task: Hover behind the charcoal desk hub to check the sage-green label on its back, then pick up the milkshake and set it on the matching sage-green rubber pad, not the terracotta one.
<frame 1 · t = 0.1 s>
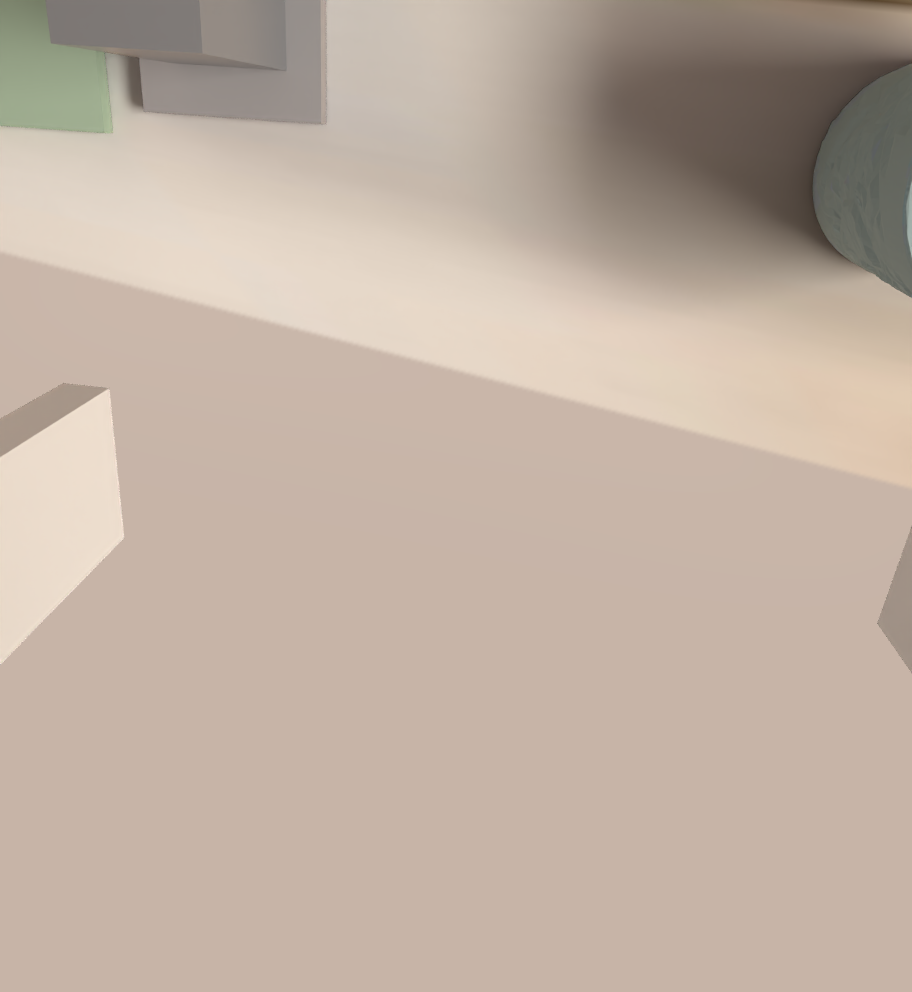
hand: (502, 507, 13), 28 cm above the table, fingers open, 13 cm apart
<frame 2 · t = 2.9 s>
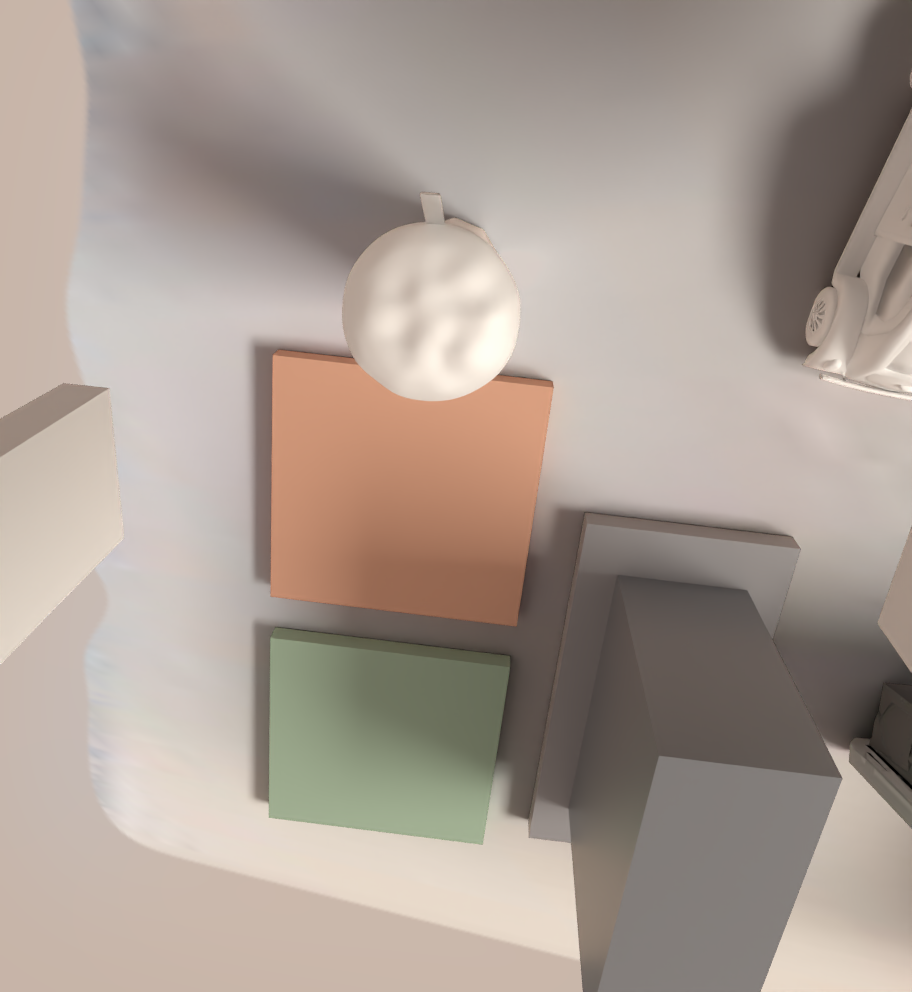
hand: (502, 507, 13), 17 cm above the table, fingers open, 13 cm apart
hub: (647, 692, 35), on the table
pad terracotta: (404, 490, 32), on the table
pad sage: (384, 734, 37), on the table
milkshake: (453, 254, 28), on the table
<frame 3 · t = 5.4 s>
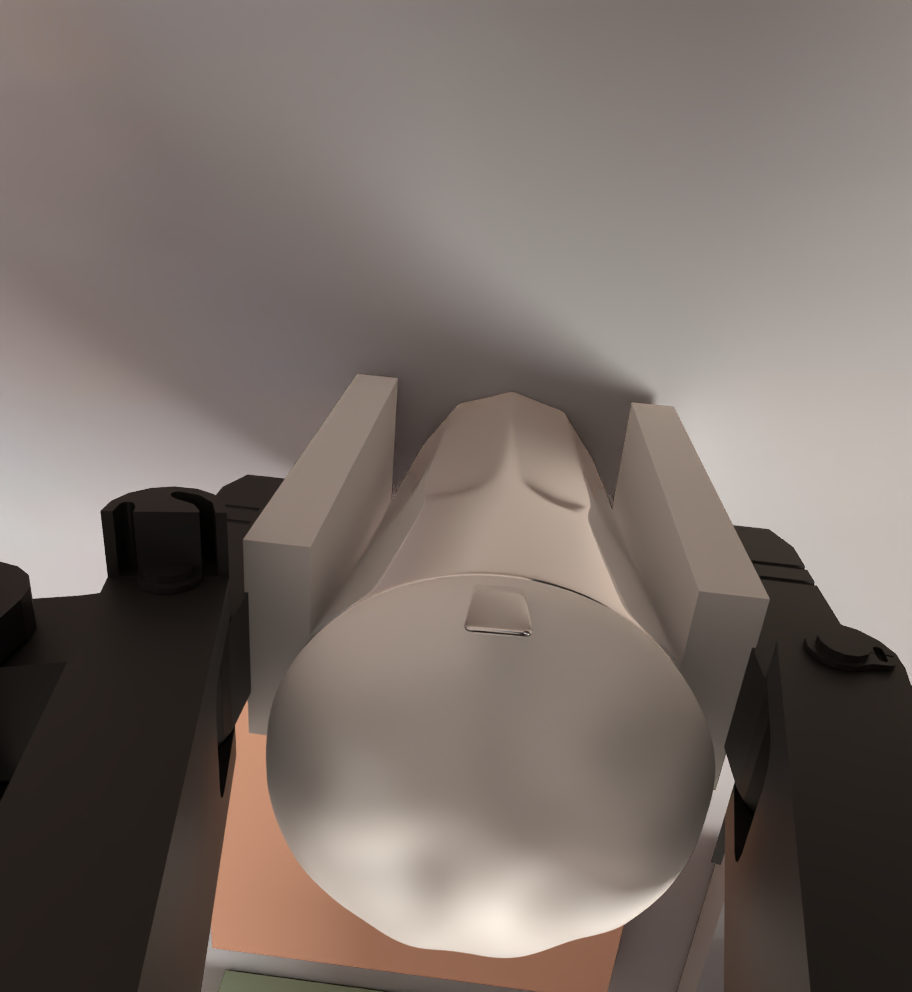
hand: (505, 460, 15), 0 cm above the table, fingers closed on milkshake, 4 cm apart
pad terracotta: (423, 802, 19), on the table
milkshake: (507, 448, 16), on the table, touching gripper
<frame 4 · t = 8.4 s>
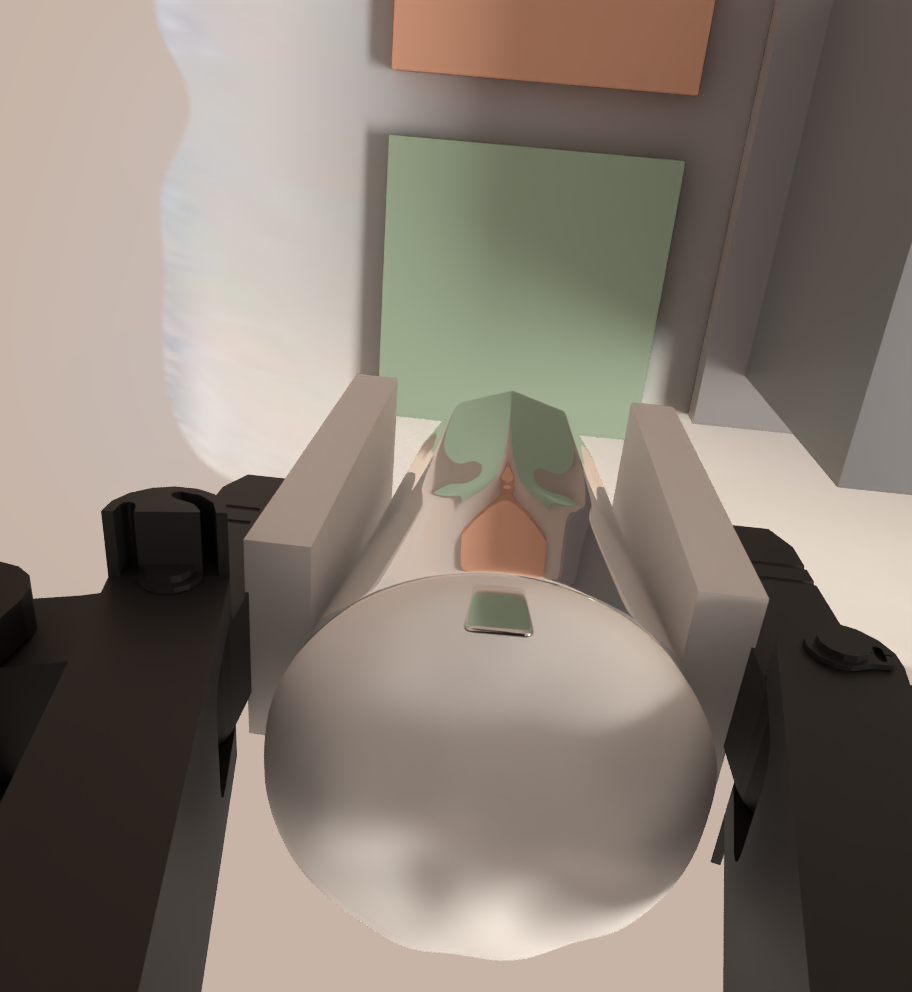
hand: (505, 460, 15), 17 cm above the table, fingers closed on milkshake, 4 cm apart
hub: (851, 207, 28), on the table
pad sage: (519, 293, 30), on the table
milkshake: (507, 448, 16), point 16 cm above the table, touching gripper
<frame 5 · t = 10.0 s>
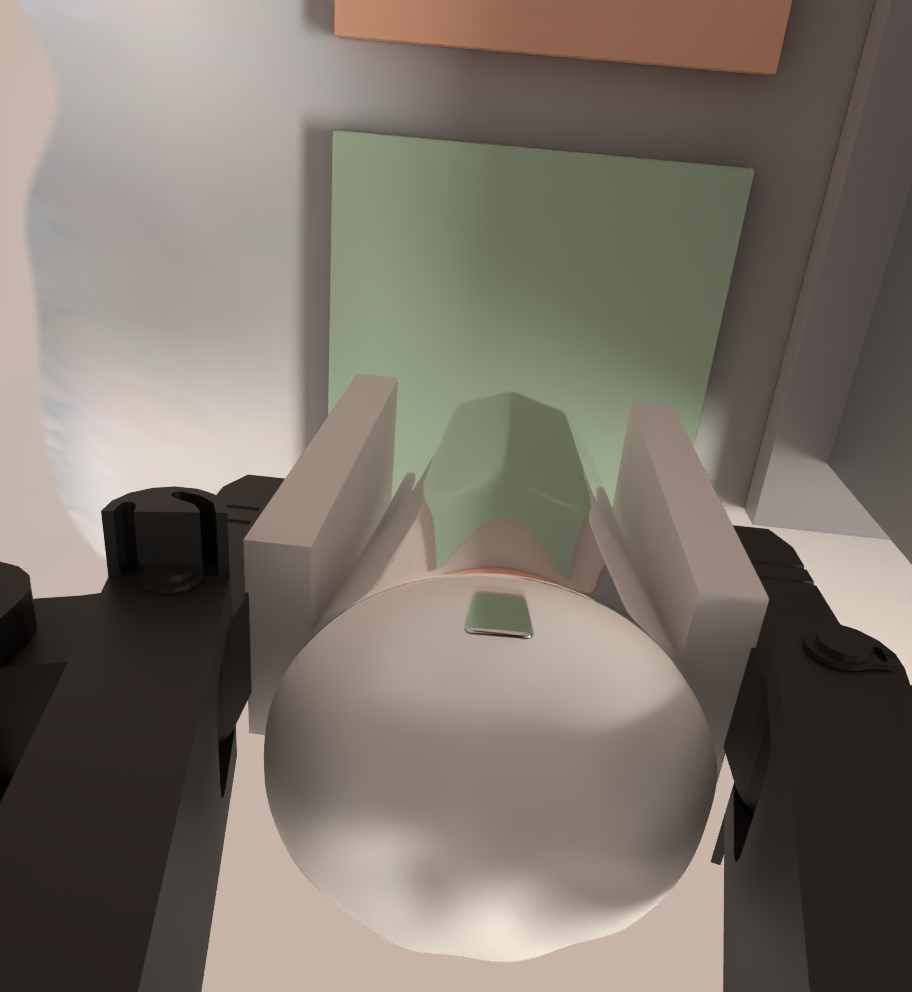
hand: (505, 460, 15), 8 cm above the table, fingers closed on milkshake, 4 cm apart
pad sage: (517, 348, 22), on the table
milkshake: (507, 448, 16), point 7 cm above the table, touching gripper
when the fingers open (3 cm above the table, at t = 11.2 s): milkshake drops 2 cm, point 1 cm above the table.
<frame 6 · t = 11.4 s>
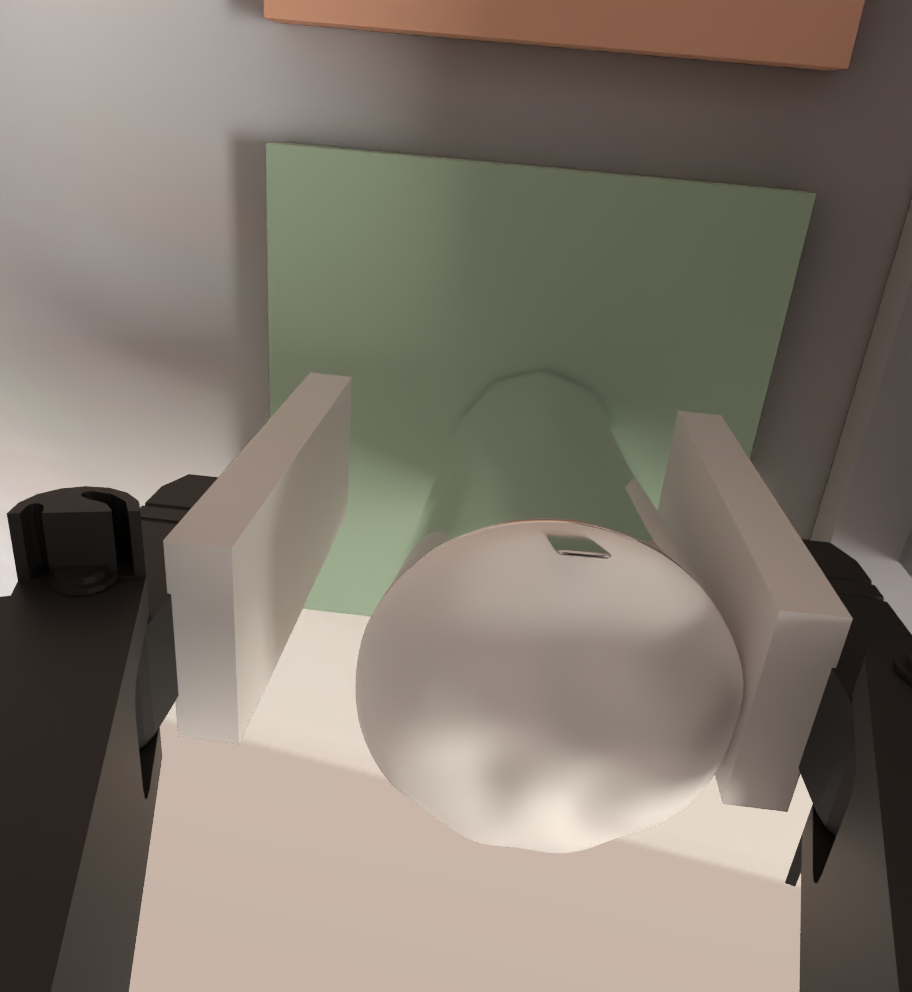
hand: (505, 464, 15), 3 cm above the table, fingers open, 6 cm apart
pad sage: (508, 414, 18), on the table
milkshake: (537, 423, 17), point 1 cm above the table, touching gripper
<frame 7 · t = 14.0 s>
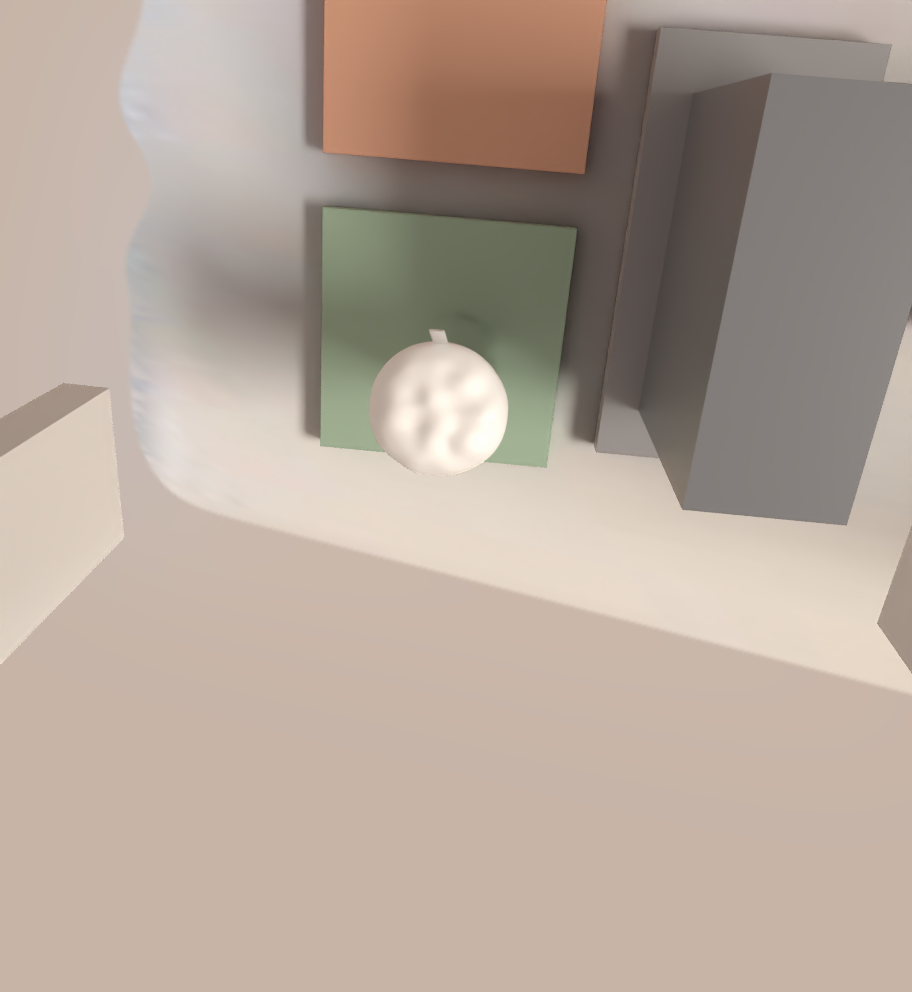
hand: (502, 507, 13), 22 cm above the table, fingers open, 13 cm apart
hub: (722, 266, 33), on the table
pad terracotta: (464, 15, 30), on the table
pad sage: (442, 340, 35), on the table
milkshake: (456, 342, 34), point 1 cm above the table, touching pad sage
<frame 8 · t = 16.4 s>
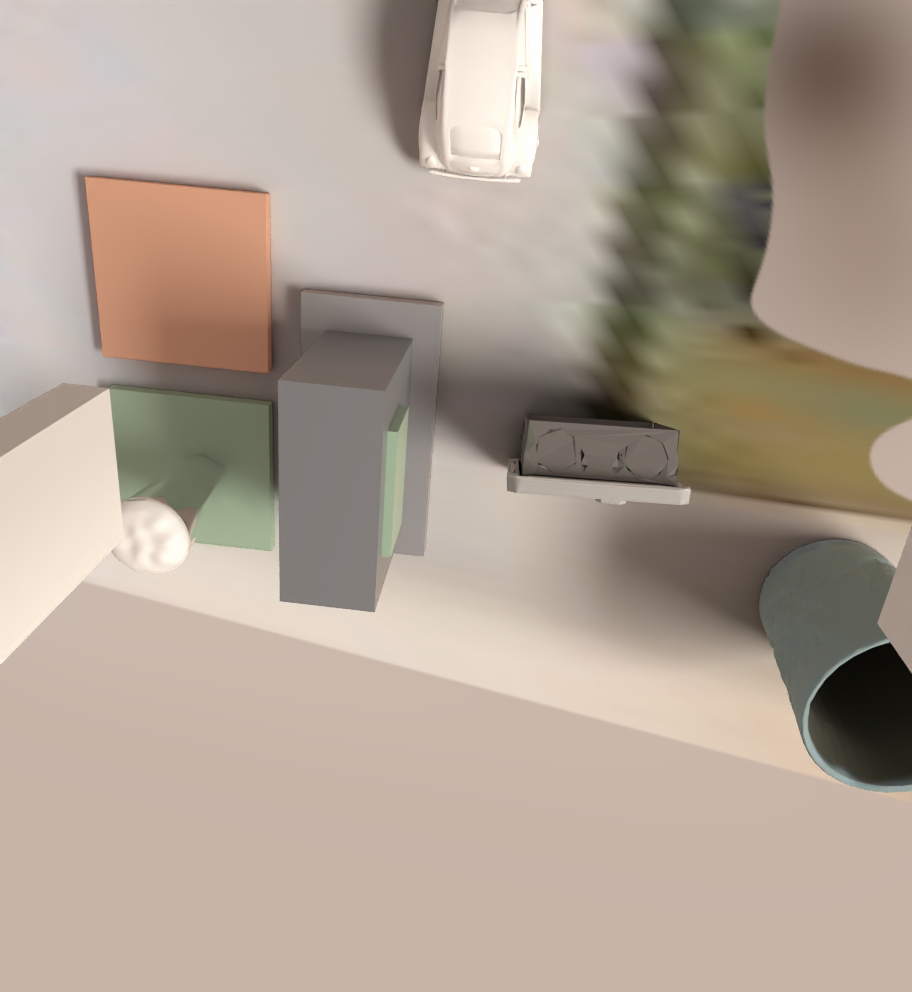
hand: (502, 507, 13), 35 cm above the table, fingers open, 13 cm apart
teal cup: (827, 592, 53), on the table
car: (487, 52, 42), on the table
hub: (369, 427, 50), on the table
electrical switch: (583, 432, 50), on the table
pad terracotta: (185, 276, 47), on the table
pad sage: (196, 467, 52), on the table
milkshake: (202, 471, 52), point 1 cm above the table, touching pad sage
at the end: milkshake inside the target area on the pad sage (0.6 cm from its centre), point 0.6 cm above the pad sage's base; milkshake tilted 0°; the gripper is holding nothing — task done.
